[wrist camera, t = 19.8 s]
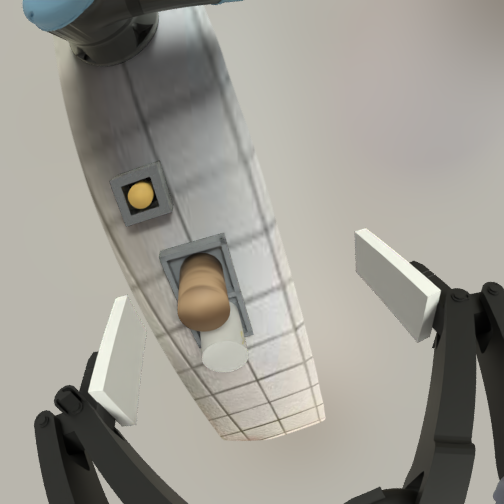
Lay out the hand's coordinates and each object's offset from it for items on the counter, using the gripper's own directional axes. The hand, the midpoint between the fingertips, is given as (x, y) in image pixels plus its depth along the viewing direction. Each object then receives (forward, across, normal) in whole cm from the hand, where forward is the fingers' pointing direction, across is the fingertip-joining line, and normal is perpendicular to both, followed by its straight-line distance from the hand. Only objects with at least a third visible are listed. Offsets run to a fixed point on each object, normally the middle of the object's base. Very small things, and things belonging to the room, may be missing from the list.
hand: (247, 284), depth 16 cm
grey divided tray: (+35, -7, -23) cm, 42 cm away
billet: (+34, -7, -18) cm, 39 cm away
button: (+34, -12, 0) cm, 36 cm away
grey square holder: (+35, -12, 0) cm, 37 cm away
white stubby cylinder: (+34, -7, -28) cm, 45 cm away
